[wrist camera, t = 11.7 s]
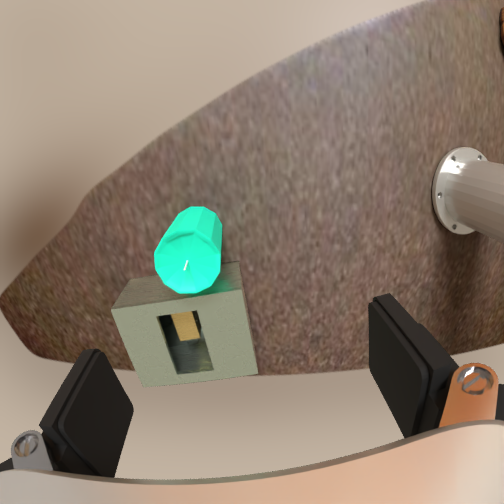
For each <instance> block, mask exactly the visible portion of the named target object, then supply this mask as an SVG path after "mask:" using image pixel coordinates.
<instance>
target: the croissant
mask: <svg viewBox="0 0 504 504" xmlns="http://www.w3.org/2000/svg"><path fill="white" fill-rule="evenodd" d="M500 24H501V39H502V43H503V46H504V7H503V8H502V9H501V12H500Z"/></svg>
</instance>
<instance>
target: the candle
mask: <svg viewBox="0 0 504 504" xmlns="http://www.w3.org/2000/svg"><path fill="white" fill-rule="evenodd" d="M221 247H222V224H221V222H220V220H219V218H218V217H217V215H216V213H214V212H212V211H210V210H209V209H207V208H205V207H189V208H187V209H186V210H184V211H182V212H180V213H179V214H178V216H177V217H176V219H175V220H174V222H173V223H172V224H171V226H170V227H169V229H168V230H167V232H166V233H165V235H164V236H163V238H162V239H161V241H160V243H159V245H158V247H157V249H156V251H155V252H154V258H155V269H156V271H157V273H158V274H159V276H160V278H161V279H162V281H163V283H164V284H165V285H167V286H168V287H170V288H171V289H173V290H174V291H176V292H177V293H179V294H185V293H198V292H200V291H202V290H204V289H206V288H208V287H210V286H212V284H213V282H214V281H215V279H216V278H217V276H218V274H219V273H220V265H221Z"/></svg>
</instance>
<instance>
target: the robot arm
mask: <svg viewBox="0 0 504 504" xmlns="http://www.w3.org/2000/svg"><path fill="white" fill-rule="evenodd" d="M432 199H433V206H434V209H435V213H436V215H437V217H438V219H439V221H440V222H441V223H442V225H443V226H444V227H445V228H447V229H448V230H450V231H452V232H454V233H457V234H469V233H471V232H473V231H478V232H480V233H482V234H484V235H486V236H488V237H490V238H492V239H495V240H497V241H499V242H501V243H503V244H504V164H499V163H494V162H488V161H487V159H486V158H485V157H484V155H483V154H482V153H480V152H479V151H478V150H476V149H473V148H469V147H459V148H455V149H453V150H451V151H450V152H448V153H447V154H446V155H445V156H444V157H443V159H442V160H441V162H440V163H439V165H438V168H437V170H436V172H435V176H434V179H433V186H432ZM368 312H369V368H370V372H371V374H372V376H373V378H374V380H375V381H376V383H377V385H378V387H379V389H380V391H381V393H382V395H383V397H384V399H385V401H386V402H387V404H388V406H389V408H390V410H391V412H392V414H393V416H394V418H395V420H396V422H397V424H398V426H399V428H400V430H401V432H402V434H403V436H404V439H401V440H398V441H395V442H392V443H389V444H386V445H383V446H380V447H377V448H374V449H370V450H366V451H363V452H359V453H356V454H352V455H348V456H344V457H340V458H336V459H333V460H328V461H324V462H320V463H315V464H311V465H306V466H301V467H296V468H290V469H285V470H279V471H272V472H265V473H258V474H250V475H242V476H233V477H222V478H207V479H184V480H147V479H146V480H145V479H124V478H114V477H115V473H116V469H117V466H118V462H119V459H120V455H121V451H122V448H123V445H124V441H125V438H126V435H127V432H128V428H129V425H130V422H131V419H132V416H133V412H134V411H133V405H132V403H131V401H130V399H129V398H128V396H127V394H126V393H125V391H124V389H123V387H122V385H121V383H120V382H119V380H118V378H117V376H116V374H115V372H114V370H113V369H112V367H111V365H110V363H109V361H108V359H107V357H106V355H105V354H104V353H103V352H101V351H100V350H99V349H87V350H83V351H82V353H81V354H80V356H79V357H78V359H77V361H76V362H75V364H74V365H73V367H72V369H71V370H70V372H69V374H68V376H67V377H66V379H65V380H64V382H63V384H62V385H61V387H60V389H59V390H58V392H57V394H56V395H55V397H54V399H53V401H52V402H51V404H50V406H49V408H48V409H47V411H46V413H45V415H44V417H43V418H42V420H41V422H40V424H39V426H40V427H41V429H42V430H43V433H42V434H40V433H39V432H38V431H35V430H30V431H26V432H23V433H22V434H21V435H19V436H18V437H17V438H16V439H15V440H14V442H13V443H12V446H11V455H12V458H10V459H8V460H6V461H4V462H3V463H1V464H0V504H504V384H498V383H499V382H498V376H497V374H496V373H495V371H494V370H493V369H491V368H490V367H488V366H486V365H484V364H480V363H469V364H465V365H463V366H461V367H459V366H458V365H457V364H456V363H455V361H454V360H453V359H452V358H451V356H450V355H449V354H448V353H447V352H446V351H445V350H444V348H443V347H442V346H441V345H440V344H439V343H438V342H437V340H436V339H435V338H434V337H433V336H432V335H431V334H430V332H429V331H428V330H427V329H426V328H425V327H424V326H423V325H422V324H419V323H417V322H416V321H415V320H414V319H413V318H412V317H411V316H410V314H409V313H408V312H407V311H406V310H405V309H404V308H403V307H402V306H401V305H400V303H399V302H398V301H397V300H396V299H395V298H394V297H393V296H392V295H391V294H390V293H388V294H384V295H381V296H377V297H374V298H373V302H371V303H369V305H368Z"/></svg>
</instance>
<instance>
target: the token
mask: <svg viewBox="0 0 504 504" xmlns="http://www.w3.org/2000/svg"><path fill="white" fill-rule="evenodd" d="M171 316H172V319H173V322H174V325H175V328H176V330H177V333H178V336H179V339H180V341H185V340H191V339H197V338H200V336H201V328H202V327H201V323H200V319H199V316H198V312H197V310H195V311H189V312H182V313H175V314H171Z"/></svg>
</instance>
